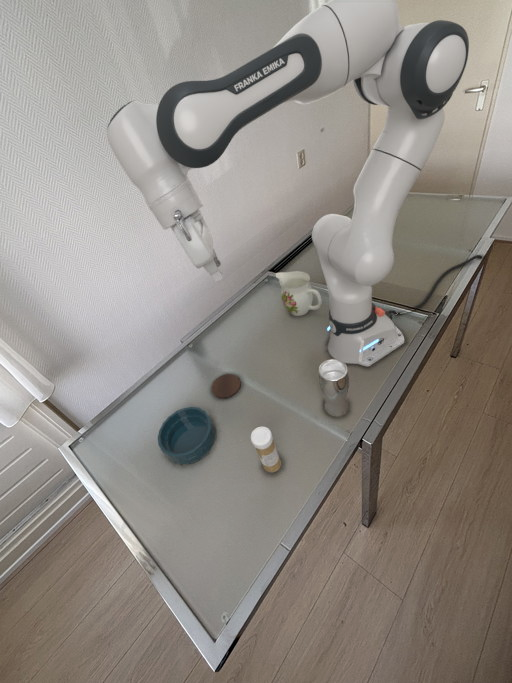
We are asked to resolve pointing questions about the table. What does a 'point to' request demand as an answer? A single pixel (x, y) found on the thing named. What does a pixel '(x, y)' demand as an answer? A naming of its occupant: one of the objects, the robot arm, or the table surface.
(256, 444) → the sprinkles bottle
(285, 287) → the pitcher
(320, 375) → the silver metal tumbler
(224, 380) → the coaster
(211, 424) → the bowl
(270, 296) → the table surface
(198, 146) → the robot arm
